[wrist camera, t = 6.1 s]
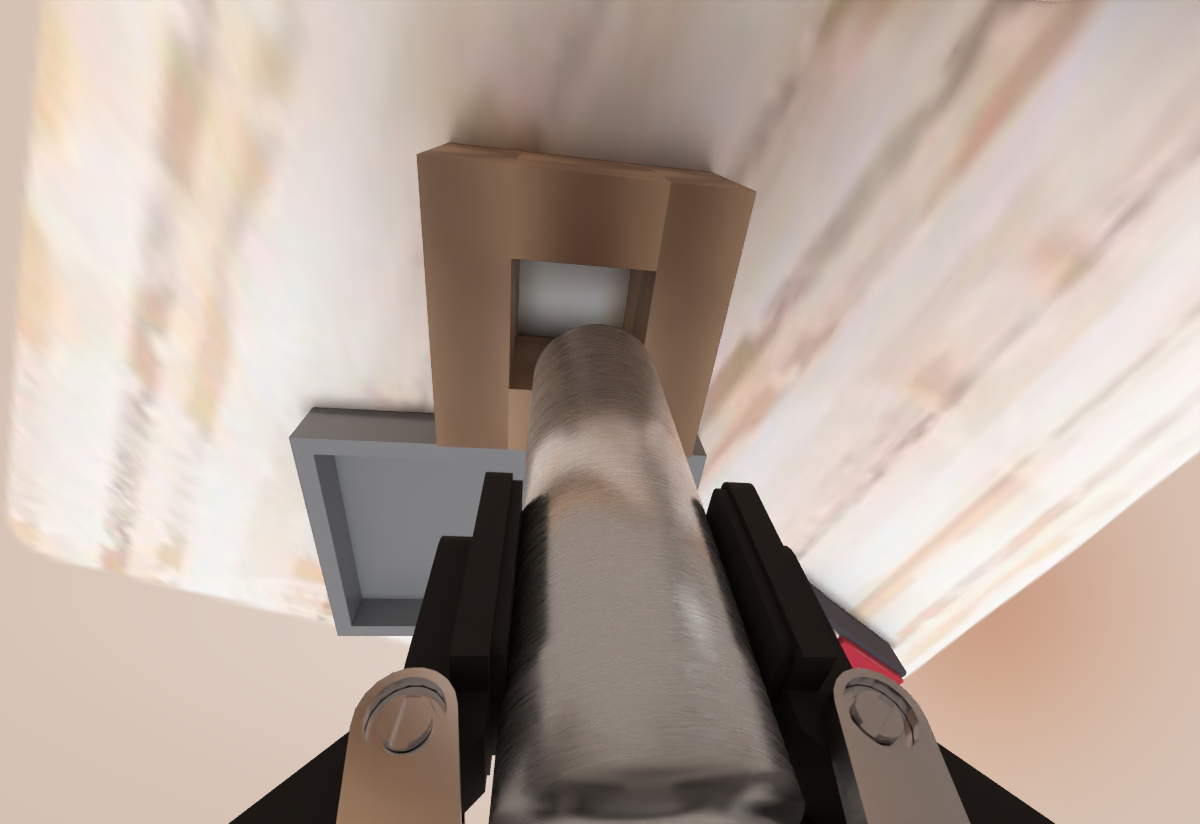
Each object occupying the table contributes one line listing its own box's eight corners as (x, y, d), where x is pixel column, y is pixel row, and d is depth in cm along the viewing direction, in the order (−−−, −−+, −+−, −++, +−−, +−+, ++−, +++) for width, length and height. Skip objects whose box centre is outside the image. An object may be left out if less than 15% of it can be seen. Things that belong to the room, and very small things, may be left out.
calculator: (804, 741, 46) (698, 692, 39) (784, 692, 49) (684, 640, 43) (915, 683, 42) (819, 618, 35) (884, 635, 46) (792, 568, 39)
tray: (694, 426, 31) (706, 455, 28) (652, 601, 39) (659, 635, 37) (312, 407, 28) (288, 437, 26) (353, 598, 37) (338, 635, 34)
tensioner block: (713, 172, 24) (756, 191, 19) (667, 396, 30) (691, 457, 25) (448, 142, 22) (416, 154, 17) (458, 384, 28) (436, 446, 23)
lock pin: (665, 329, 16) (852, 751, 6) (645, 435, 18) (756, 883, 8) (535, 319, 15) (485, 758, 5) (531, 429, 17) (488, 896, 7)
